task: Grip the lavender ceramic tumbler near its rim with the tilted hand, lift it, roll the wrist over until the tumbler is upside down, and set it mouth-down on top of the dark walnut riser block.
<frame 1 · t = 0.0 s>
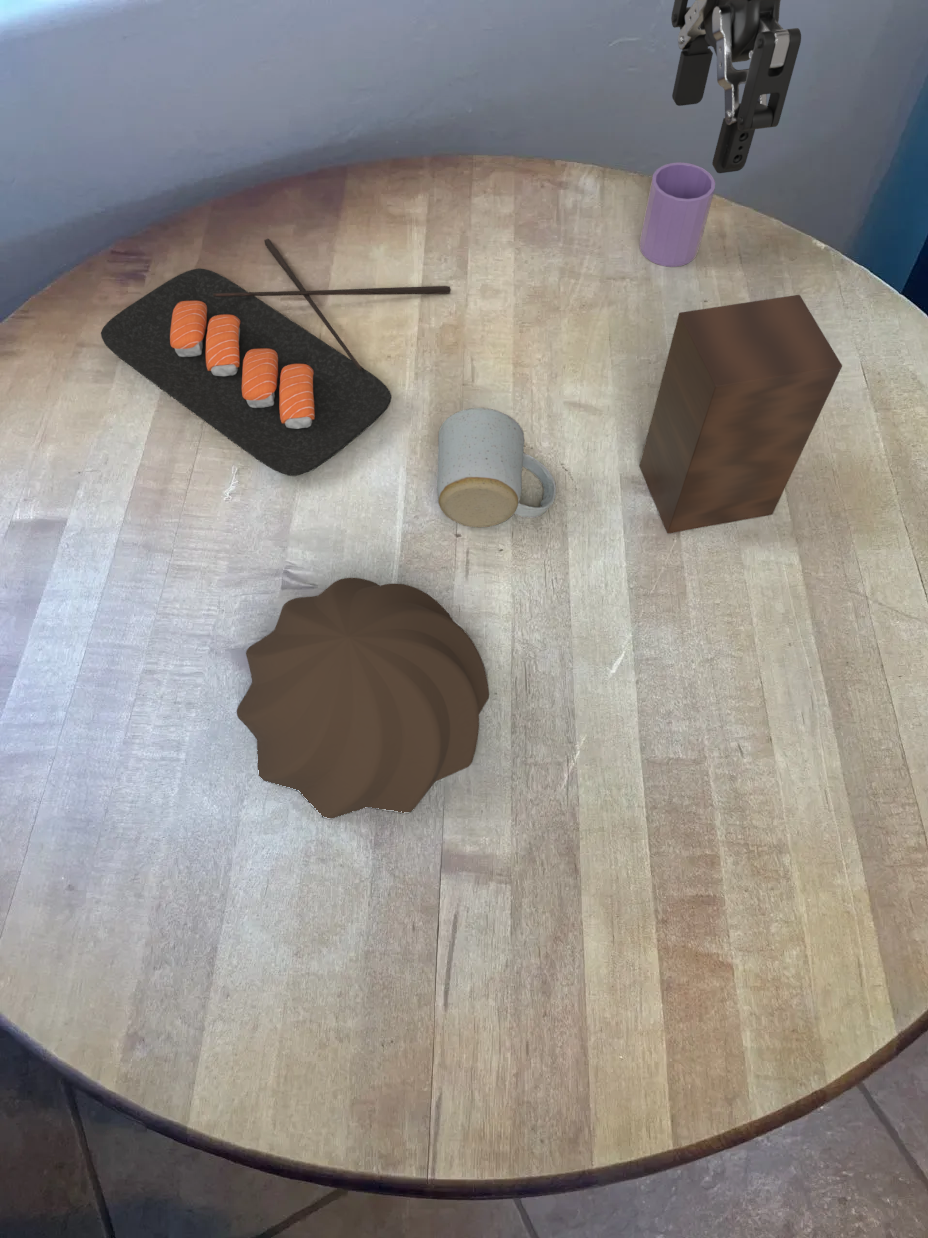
hand: (705, 134, 71), 27 cm above the table, tool pointing down, fingers open, 8 cm apart
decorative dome: (364, 702, 76), on the table
ceramic mug: (493, 496, 87), on the table
sushi plate: (303, 337, 98), on the table
riser: (704, 490, 88), on the table
tumbler: (668, 247, 105), on the table
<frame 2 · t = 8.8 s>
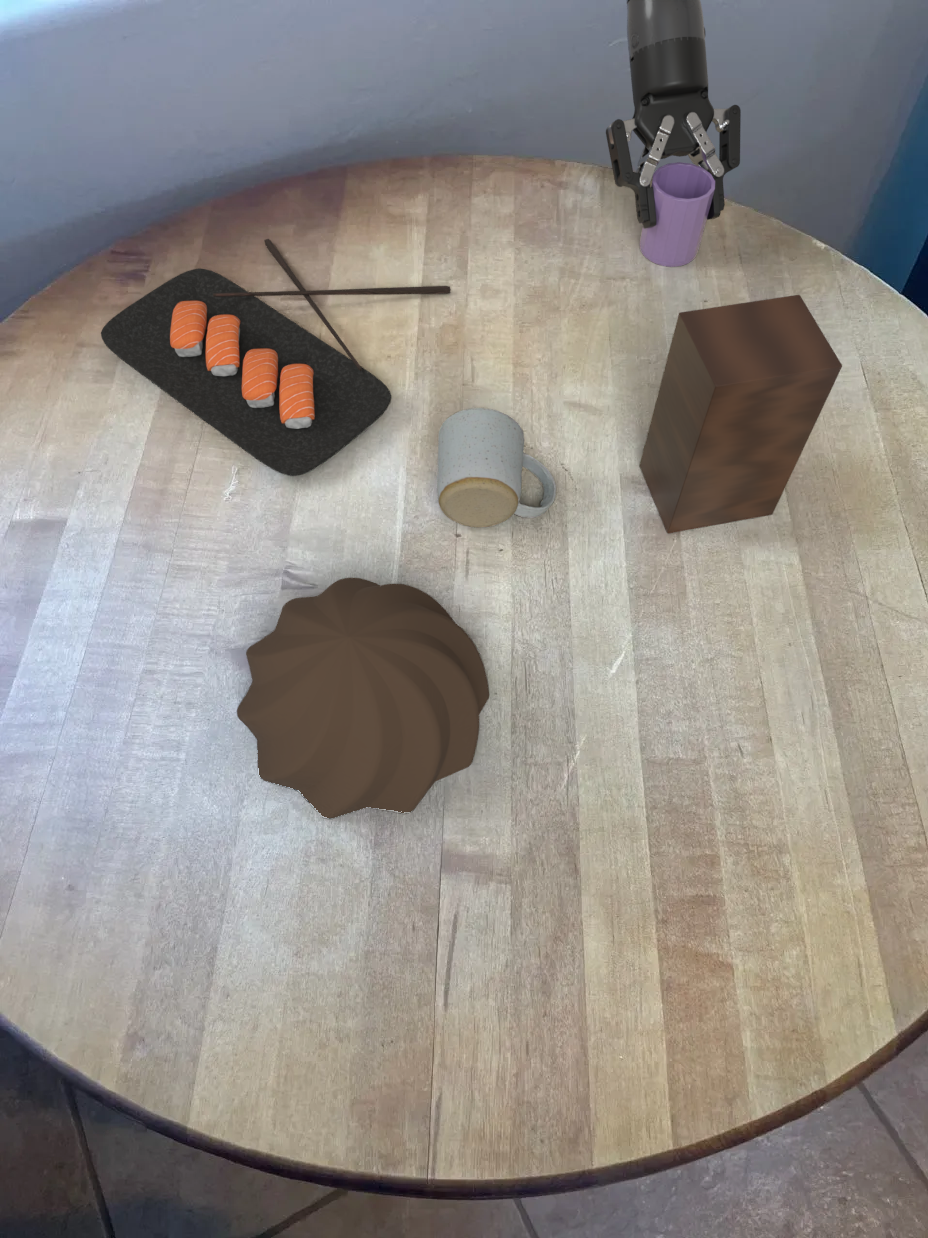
hand: (681, 222, 101), 4 cm above the table, tool tilted 45°, fingers closed on tumbler, 6 cm apart
tumbler: (668, 247, 105), on the table, touching gripper
everything else where it was.
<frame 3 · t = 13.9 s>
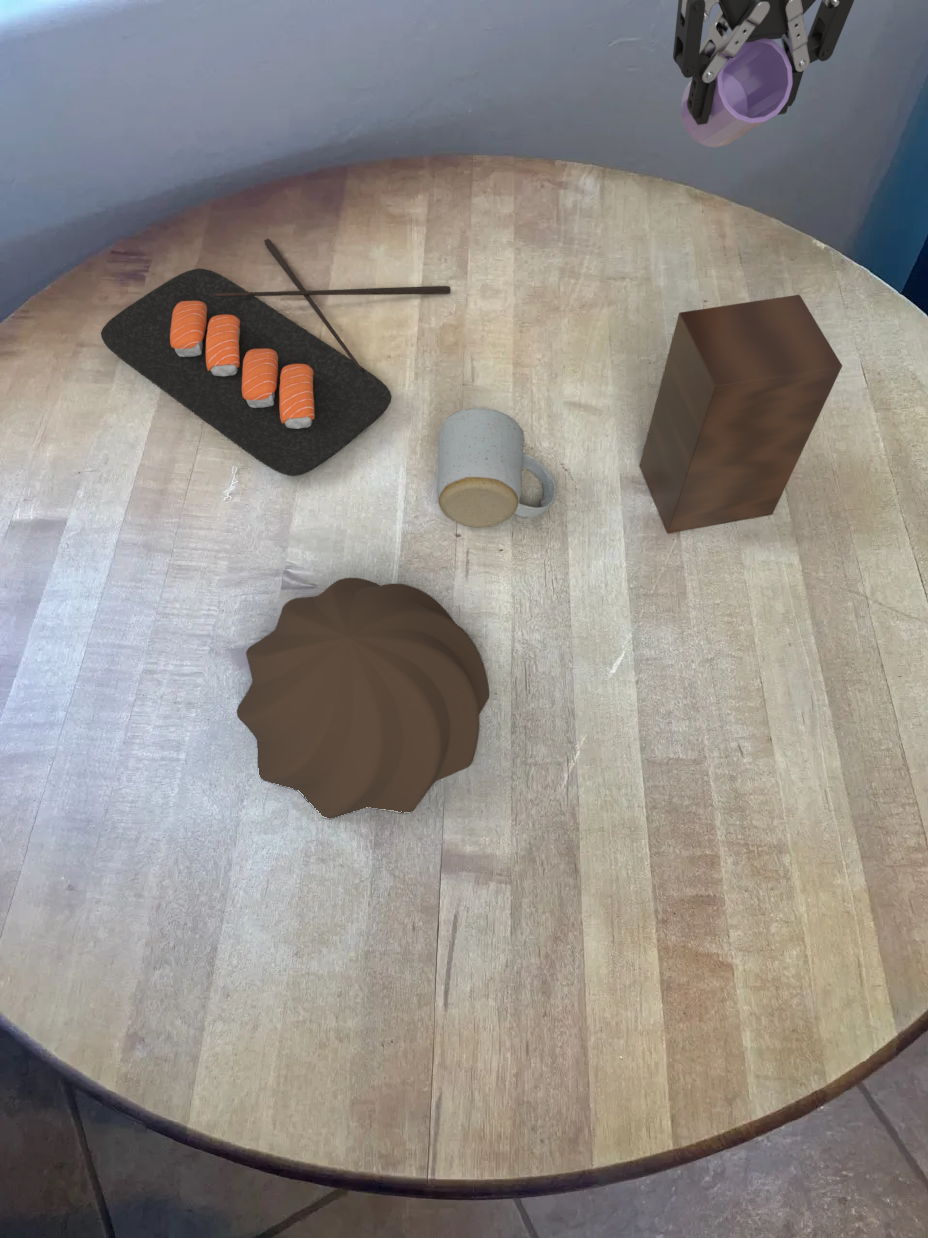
hand: (737, 113, 82), 21 cm above the table, tool pointing down, fingers closed on tumbler, 6 cm apart
tumbler: (715, 108, 86), point 19 cm above the table, tilted 45°, touching gripper
everything else where it was.
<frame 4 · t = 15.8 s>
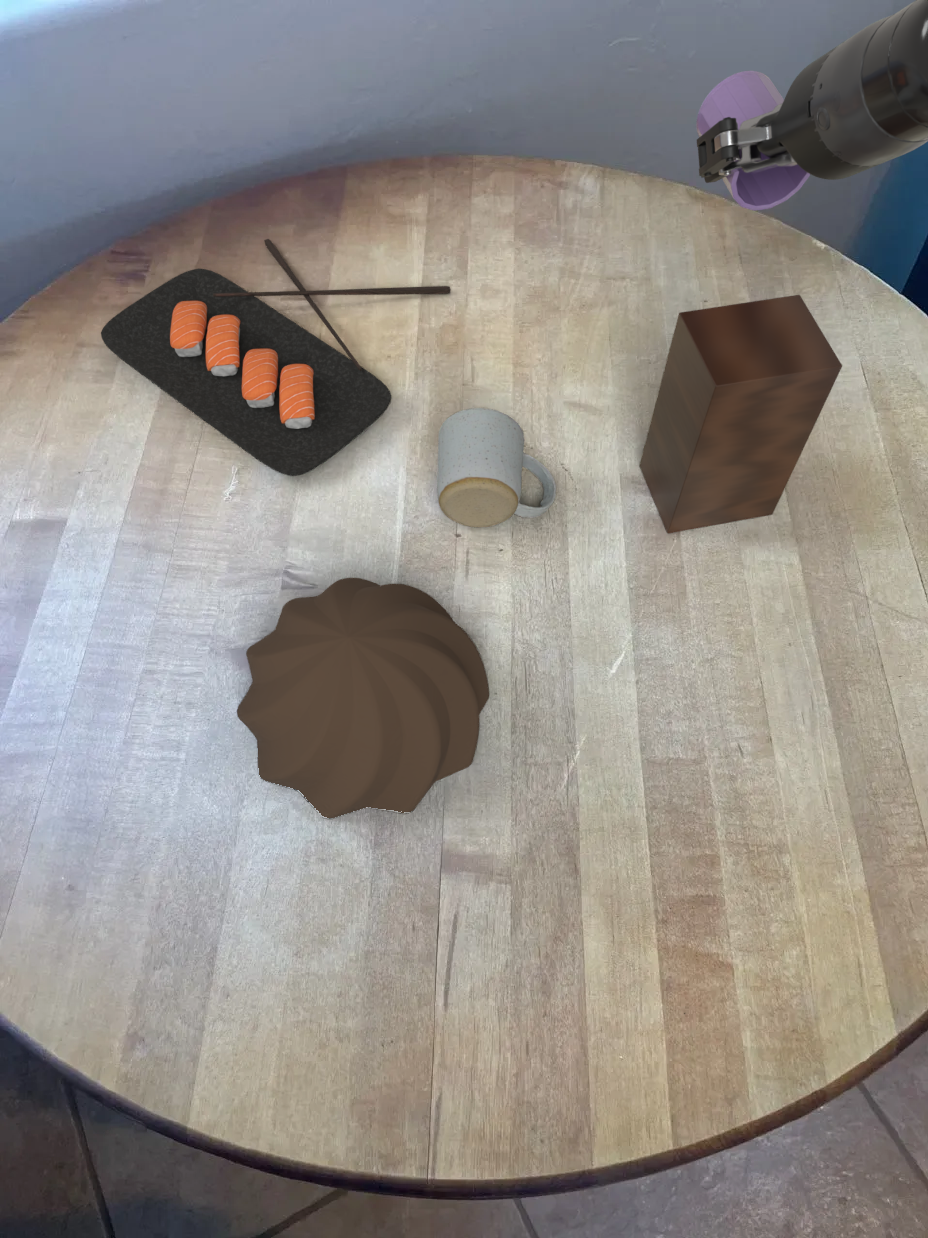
hand: (750, 162, 75), 23 cm above the table, tool tilted 45°, fingers closed on tumbler, 6 cm apart
tumbler: (735, 111, 76), point 25 cm above the table, tilted 90°, touching gripper
everything else where it was.
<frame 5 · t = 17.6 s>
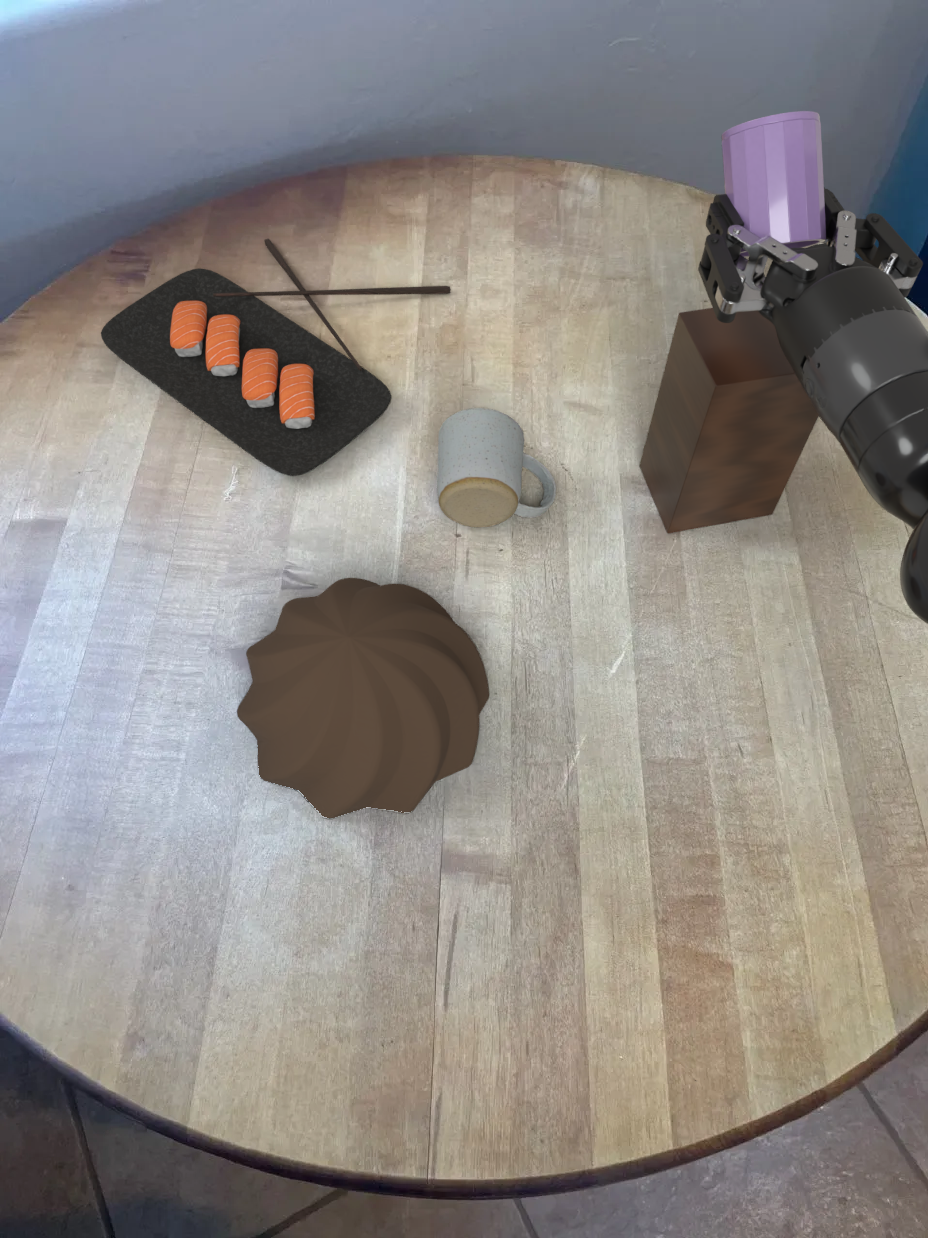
hand: (763, 200, 68), 26 cm above the table, tool horizontal, fingers closed on tumbler, 6 cm apart
tumbler: (769, 125, 66), point 30 cm above the table, tilted 134°, touching gripper
everything else where it was.
when the fingers open (23 cm above the table, at t = 20.1 s): tumbler drops 2 cm and tips over, resting on riser.
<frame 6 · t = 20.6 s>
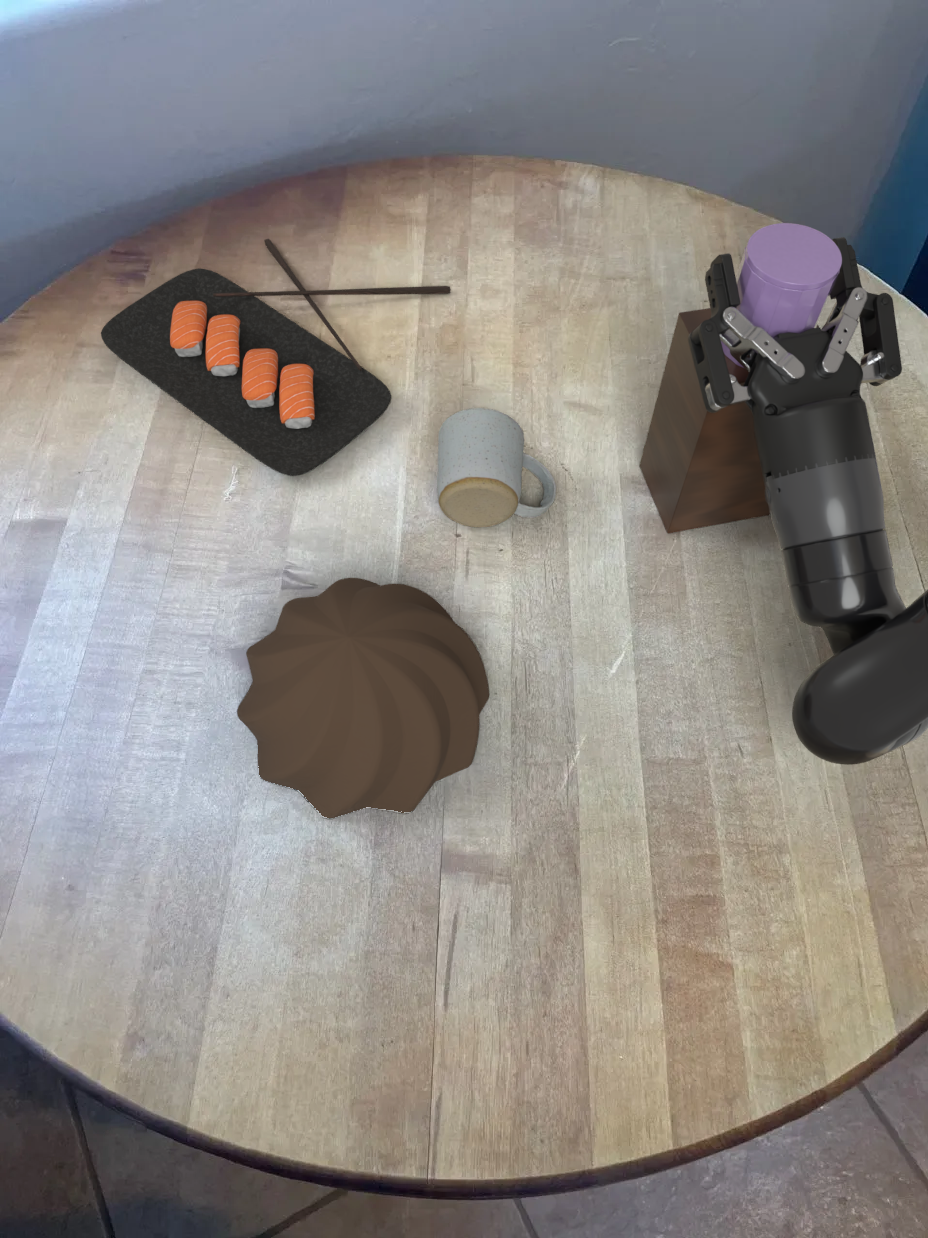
hand: (776, 249, 68), 25 cm above the table, tool pointing upward, fingers open, 8 cm apart
tumbler: (794, 252, 65), point 26 cm above the table, tilted 180°, touching riser
everything else where it was.
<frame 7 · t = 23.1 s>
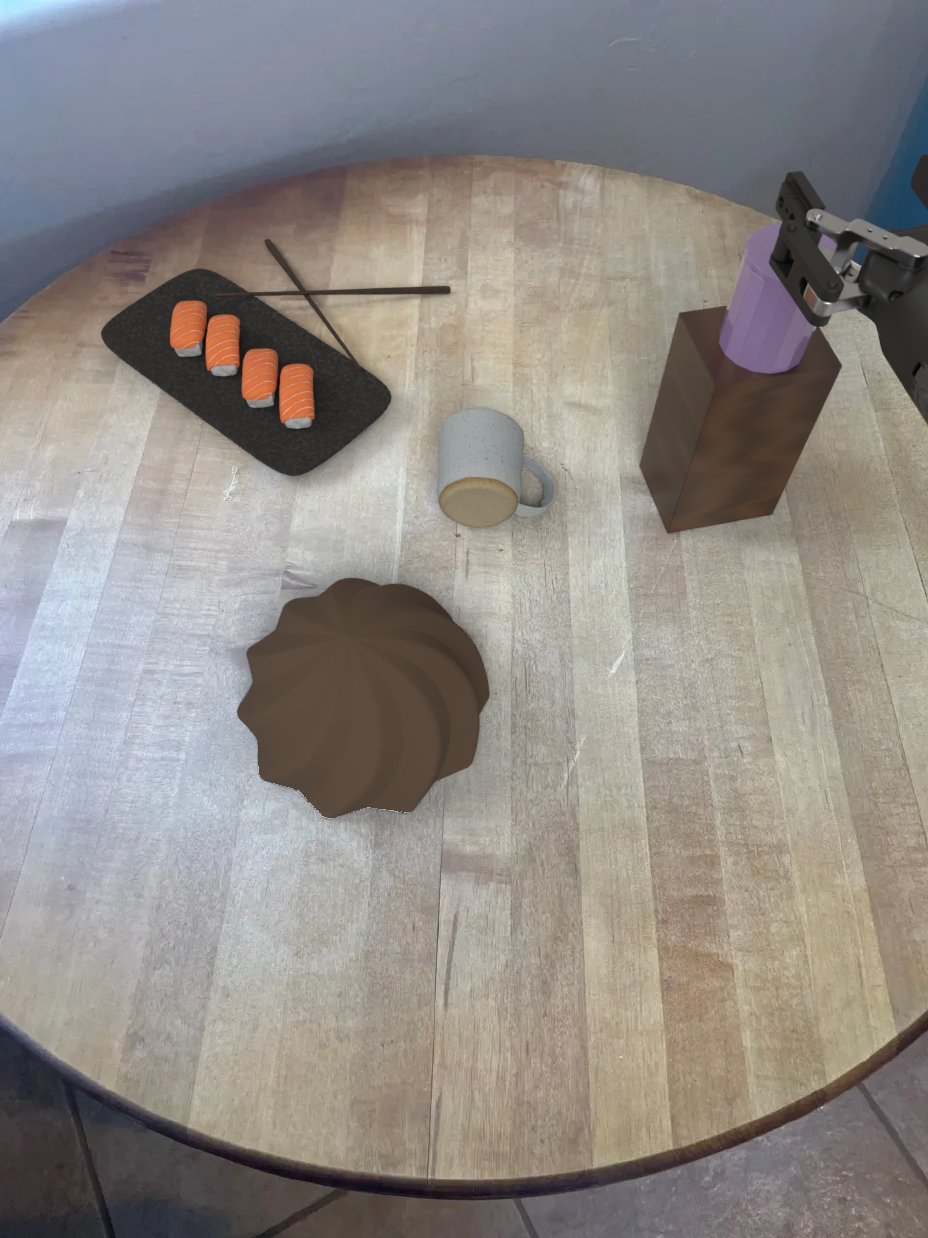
hand: (854, 175, 57), 34 cm above the table, tool horizontal, fingers open, 8 cm apart
nothing on the table moved.
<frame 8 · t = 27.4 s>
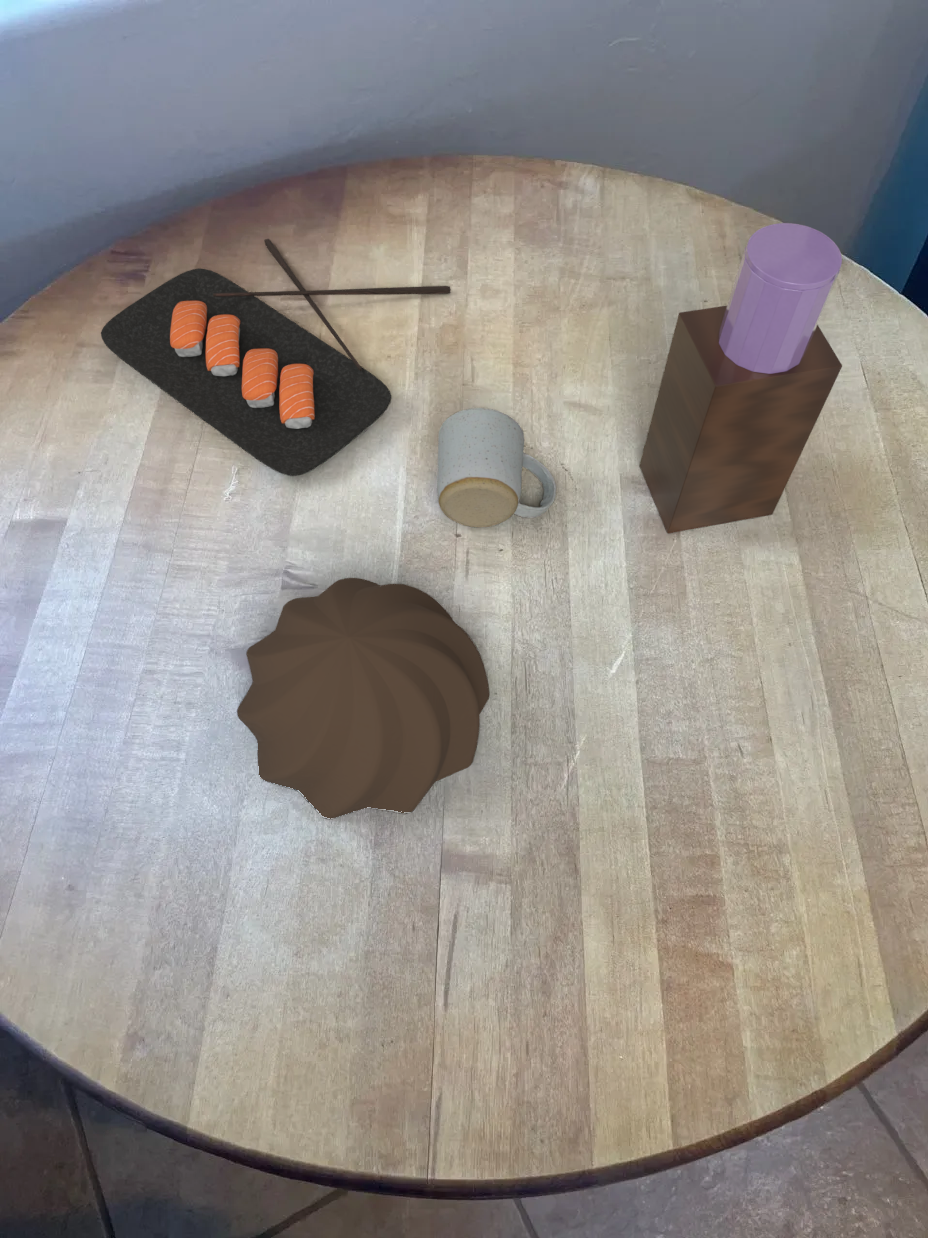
nothing on the table moved.
at the end: tumbler tilted 180°; tumbler inside the target area on the riser (0.5 cm from its centre), point 26.0 cm above the riser's base; the gripper is holding nothing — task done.
